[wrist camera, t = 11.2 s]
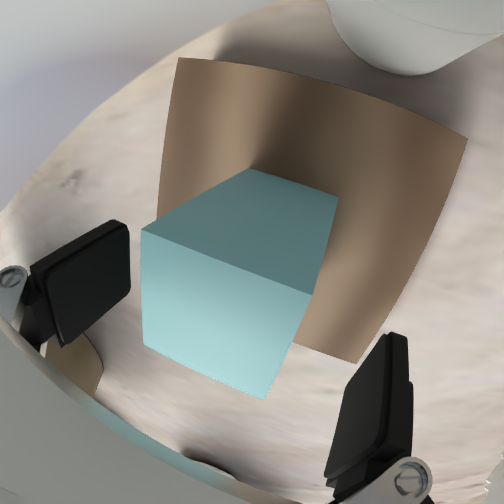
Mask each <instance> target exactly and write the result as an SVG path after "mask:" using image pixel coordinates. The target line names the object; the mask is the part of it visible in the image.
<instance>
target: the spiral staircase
mask: <svg viewBox="0 0 504 504" xmlns="http://www.w3.org/2000/svg"><path fill="white" fill-rule="evenodd" d="M501 456H502V458H503V459H502V460H501V462H500V463H499V464H498V465H497V467H496V468H495V469H494V471H493V472H492V473H491V474H490V476H489V477H488V478H487V479H486V482H488V483H489V484H488V485H487V486H486V487H485V489H486V490H487V491H488V493H487V494H486V496H485V497H484V498H483V500H482V501H481V502H480V504H504V452H503V453H501Z"/></svg>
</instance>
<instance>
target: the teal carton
mask: <svg viewBox="0 0 504 504" xmlns="http://www.w3.org/2000/svg"><path fill="white" fill-rule="evenodd" d="M338 199H339V197H337V196H334V195H331V194H328V193H325V192H323V191H320V190H317V189H314V188H311V187H308V186H305V185H302V184H299V183H296V182H293V181H290V180H286V179H283V178H280V177H277V176H274V175H271V174H267V173H264V172H261V171H257V170H254V169H251V168H248V169H246V170H244V171H242V172H240V173H238V174H236V175H234V176H232V177H231V178H229V179H227V180H225V181H223V182H221V183H220V184H218V185H216V186H214V187H212V188H210V189H209V190H207V191H205V192H203V193H202V194H200V195H198V196H196V197H194V198H193V199H191V200H189V201H188V202H186V203H184V204H182V205H181V206H179V207H177V208H175V209H174V210H172V211H170V212H169V213H167V214H165V215H164V216H162V217H160V218H159V219H157V220H155V221H154V222H152V223H151V224H149V225H147V226H146V227H144V228H142V229H141V309H142V329H143V344H144V345H146V346H148V347H150V348H151V349H153V350H155V351H157V352H159V353H161V354H163V355H165V356H167V357H168V358H170V359H172V360H174V361H176V362H178V363H180V364H182V365H184V366H186V367H189V368H191V369H193V370H195V371H197V372H199V373H201V374H203V375H205V376H208V377H210V378H212V379H214V380H216V381H219V382H221V383H223V384H226V385H228V386H230V387H233V388H235V389H237V390H240V391H242V392H245V393H247V394H250V395H252V396H255V397H257V398H260V399H262V400H265V398H266V396H267V394H268V392H269V390H270V388H271V386H272V384H273V382H274V380H275V378H276V375H277V373H278V371H279V369H280V367H281V365H282V363H283V361H284V359H285V356H286V354H287V352H288V350H289V348H290V346H291V343H292V341H293V339H294V337H295V335H296V332H297V330H298V328H299V326H300V323H301V321H302V319H303V316H304V314H305V312H306V309H307V307H308V305H309V302H310V300H311V298H312V295H313V292H314V288H315V285H316V282H317V278H318V275H319V271H320V268H321V264H322V261H323V257H324V253H325V250H326V246H327V242H328V238H329V235H330V231H331V227H332V223H333V219H334V215H335V211H336V207H337V203H338Z"/></svg>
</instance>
